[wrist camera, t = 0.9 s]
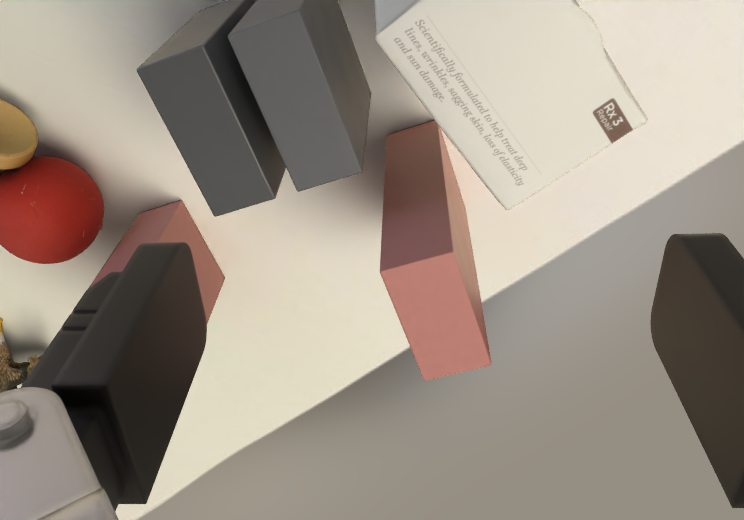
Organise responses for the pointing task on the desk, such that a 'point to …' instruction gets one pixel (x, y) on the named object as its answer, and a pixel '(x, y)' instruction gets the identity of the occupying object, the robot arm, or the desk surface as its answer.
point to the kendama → (42, 197)
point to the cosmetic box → (511, 84)
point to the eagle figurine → (13, 367)
